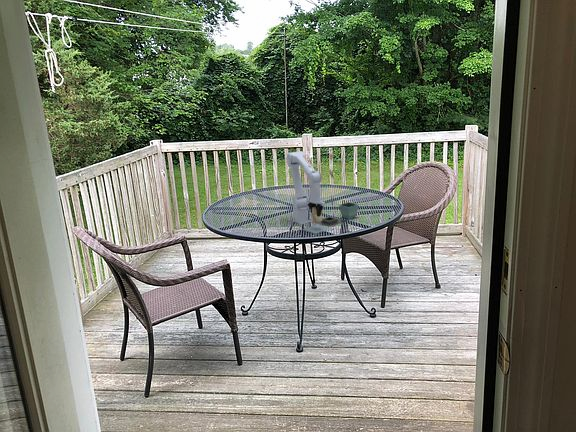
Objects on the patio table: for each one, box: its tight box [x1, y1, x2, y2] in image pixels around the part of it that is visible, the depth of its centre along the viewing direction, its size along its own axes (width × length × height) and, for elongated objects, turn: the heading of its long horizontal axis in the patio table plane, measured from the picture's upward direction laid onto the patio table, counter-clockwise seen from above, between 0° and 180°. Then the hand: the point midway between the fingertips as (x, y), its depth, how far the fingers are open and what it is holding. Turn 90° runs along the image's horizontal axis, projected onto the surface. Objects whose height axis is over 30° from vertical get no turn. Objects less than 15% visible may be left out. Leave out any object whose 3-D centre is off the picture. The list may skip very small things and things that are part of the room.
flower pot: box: [338, 201, 359, 220], centre depth 289 cm, size 9×9×9 cm
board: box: [302, 223, 332, 235], centre depth 272 cm, size 12×12×1 cm
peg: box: [311, 207, 323, 222], centre depth 270 cm, size 4×4×8 cm
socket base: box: [311, 216, 348, 228], centre depth 284 cm, size 16×16×2 cm
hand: (316, 215), depth 270 cm, fingers closed on peg, 4 cm apart
